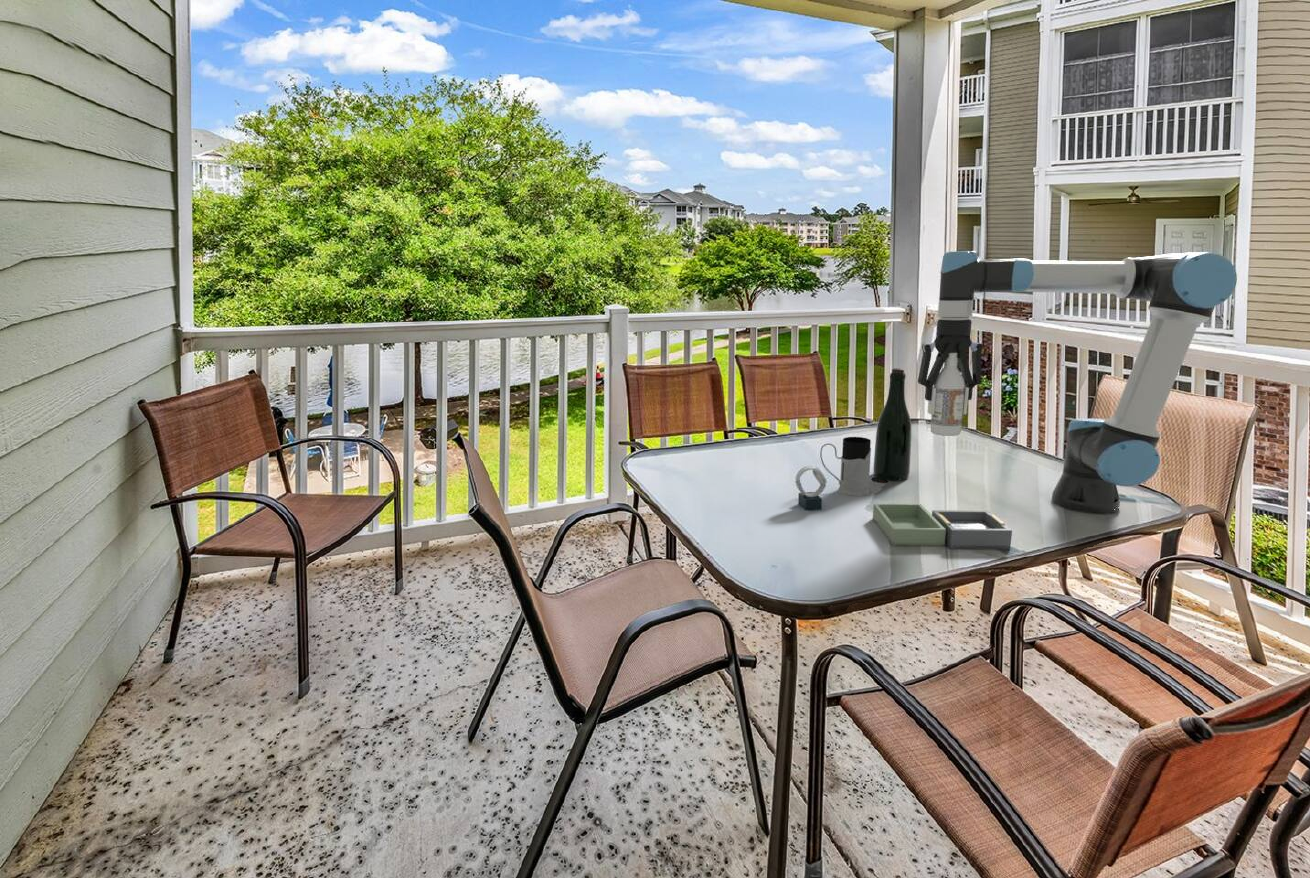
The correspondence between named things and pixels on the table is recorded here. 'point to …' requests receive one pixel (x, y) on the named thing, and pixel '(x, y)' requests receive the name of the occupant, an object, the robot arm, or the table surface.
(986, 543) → the gray square tray
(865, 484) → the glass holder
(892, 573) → the table surface
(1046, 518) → the table surface
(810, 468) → the watch
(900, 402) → the wine bottle
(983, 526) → the plate
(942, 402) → the bath foam
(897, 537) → the green tray
